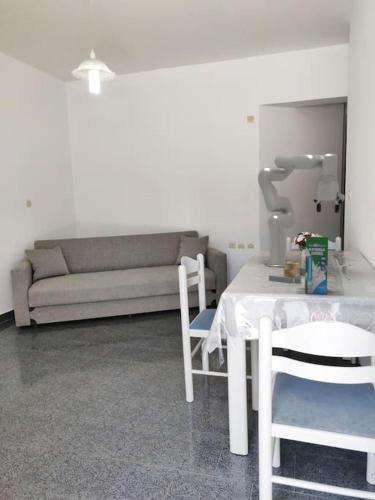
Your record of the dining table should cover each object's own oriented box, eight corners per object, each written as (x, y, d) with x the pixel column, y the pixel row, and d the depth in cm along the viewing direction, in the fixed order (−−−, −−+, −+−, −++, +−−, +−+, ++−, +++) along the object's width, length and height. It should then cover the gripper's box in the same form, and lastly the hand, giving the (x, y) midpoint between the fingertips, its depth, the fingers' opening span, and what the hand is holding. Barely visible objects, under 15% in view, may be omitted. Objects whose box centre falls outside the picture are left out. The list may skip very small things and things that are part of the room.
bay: (268, 282, 190) (268, 272, 189) (284, 275, 206) (284, 266, 205) (298, 286, 181) (298, 275, 181) (312, 278, 197) (312, 268, 196)
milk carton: (326, 289, 174) (328, 234, 171) (326, 294, 166) (328, 236, 162) (305, 288, 177) (306, 234, 174) (304, 293, 169) (305, 236, 165)
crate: (283, 276, 198) (284, 263, 197) (288, 274, 203) (288, 261, 202) (295, 278, 194) (295, 264, 193) (300, 276, 199) (300, 262, 198)
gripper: (309, 179, 200) (308, 212, 203) (342, 178, 188) (340, 213, 191) (316, 179, 206) (315, 211, 208) (348, 178, 193) (347, 212, 196)
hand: (327, 212), depth 199 cm, fingers open, 9 cm apart
